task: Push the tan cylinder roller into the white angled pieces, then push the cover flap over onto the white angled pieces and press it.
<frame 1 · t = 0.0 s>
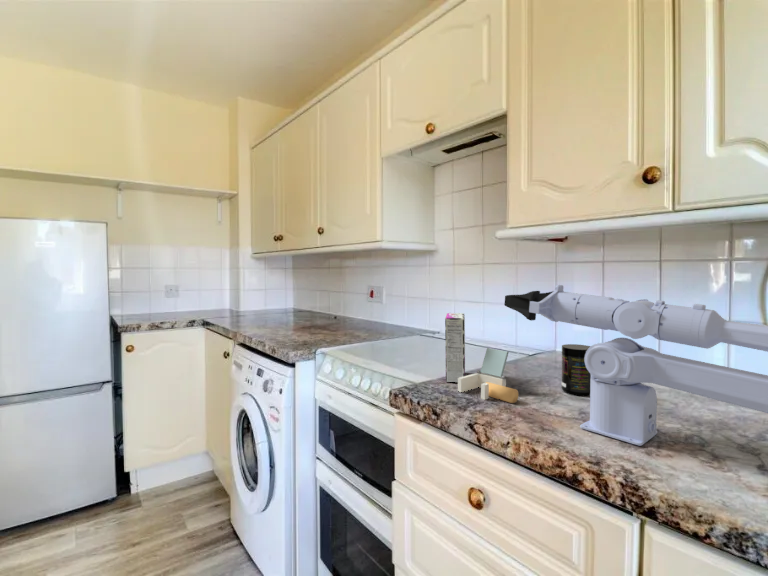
hand: (516, 299, 81), 22 cm above the counter, tool horizontal, fingers open, 7 cm apart
tan cylinder roller: (500, 399, 85), on the counter
cover flap: (494, 362, 91), point 6 cm above the counter, hinge at 115.0°
supplement container: (577, 392, 89), on the counter
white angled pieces: (482, 392, 89), on the counter
candy bar box: (455, 378, 102), on the counter
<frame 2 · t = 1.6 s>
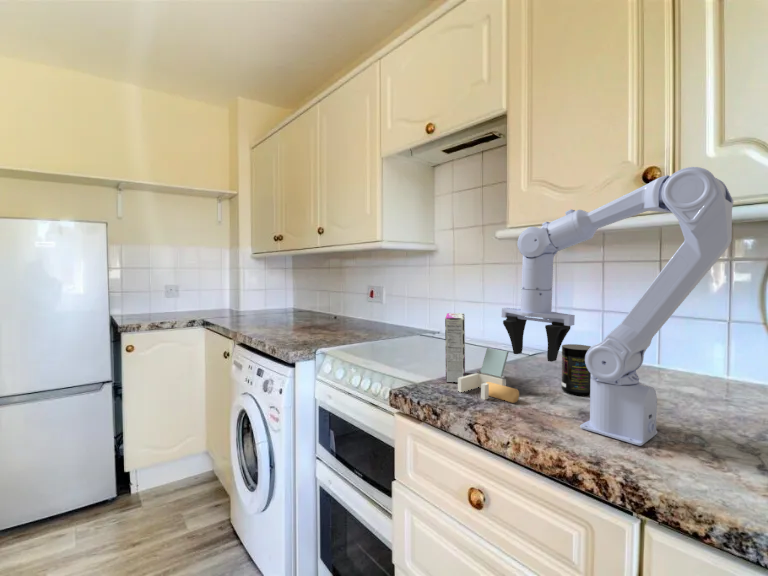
hand: (534, 357, 78), 10 cm above the counter, tool pointing down, fingers open, 7 cm apart
tan cylinder roller: (500, 399, 85), on the counter, tilted 11°
everything else where it was.
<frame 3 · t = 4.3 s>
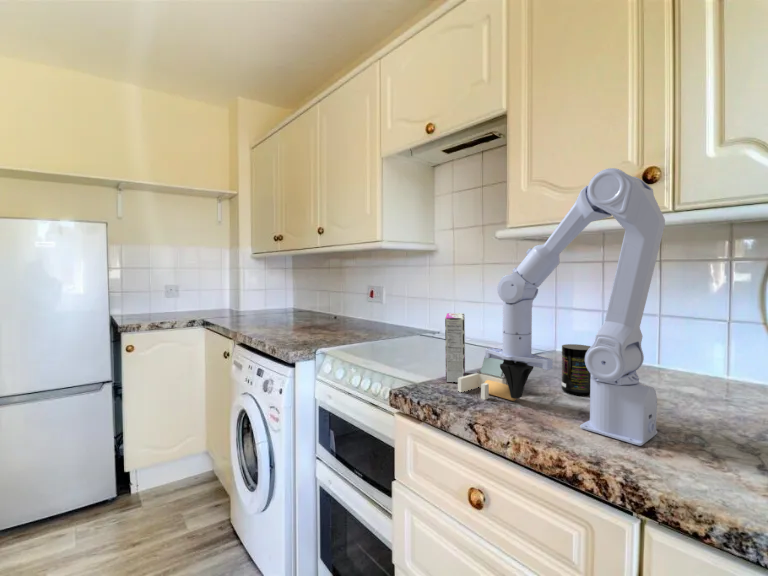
hand: (516, 397, 81), 1 cm above the counter, tool pointing down, fingers closed
tan cylinder roller: (497, 395, 85), on the counter, tilted 45°, touching gripper
everything else where it was.
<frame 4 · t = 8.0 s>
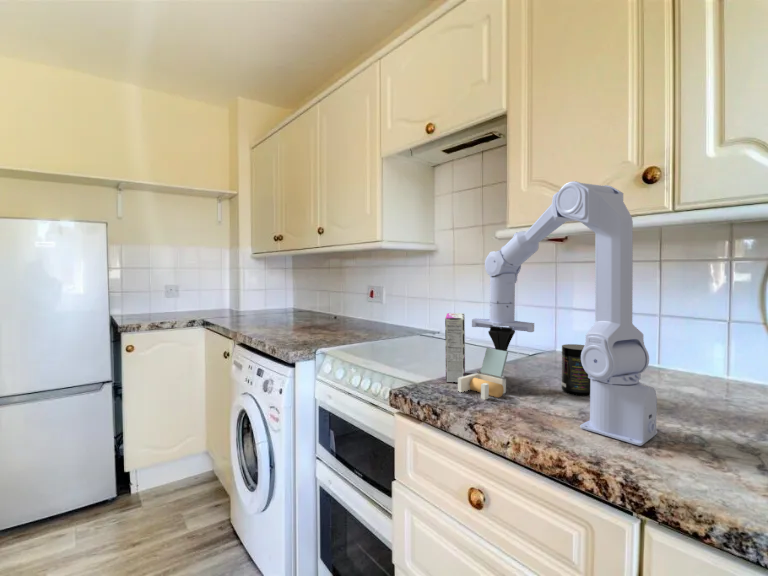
hand: (501, 359, 93), 7 cm above the counter, tool pointing down, fingers closed, pressing on cover flap
tan cylinder roller: (484, 393, 88), on the counter, tilted 33°
cover flap: (494, 362, 91), point 6 cm above the counter, hinge at 113.6°, touching gripper
everything else where it was.
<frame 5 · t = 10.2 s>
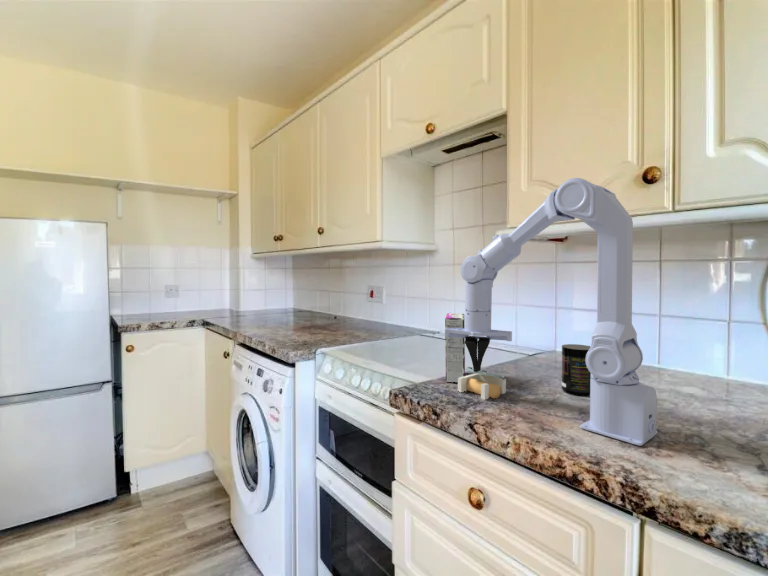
hand: (477, 370, 87), 5 cm above the counter, tool pointing down, fingers closed, pressing on cover flap
tan cylinder roller: (484, 394, 88), on the counter, tilted 14°
cover flap: (483, 372, 89), point 5 cm above the counter, hinge at 16.7°, touching gripper
everything else where it was.
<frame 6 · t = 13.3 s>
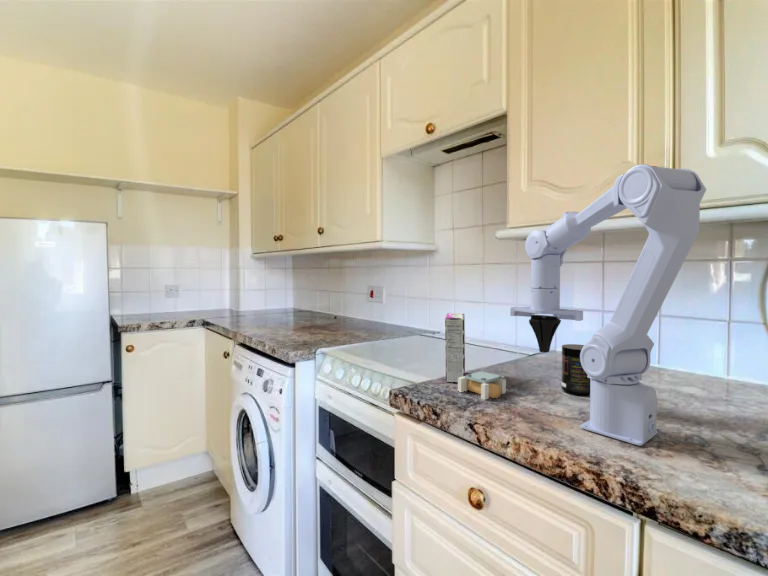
hand: (544, 351, 83), 10 cm above the counter, tool pointing down, fingers closed
tan cylinder roller: (484, 394, 88), on the counter, tilted 6°
cover flap: (482, 376, 89), point 4 cm above the counter, hinge at -1.0°, touching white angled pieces
everything else where it was.
at the end: cover flap at -1° (first picture: +115°); tan cylinder roller 0.7 cm from the target spot, on the counter; tan cylinder roller on the counter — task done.
